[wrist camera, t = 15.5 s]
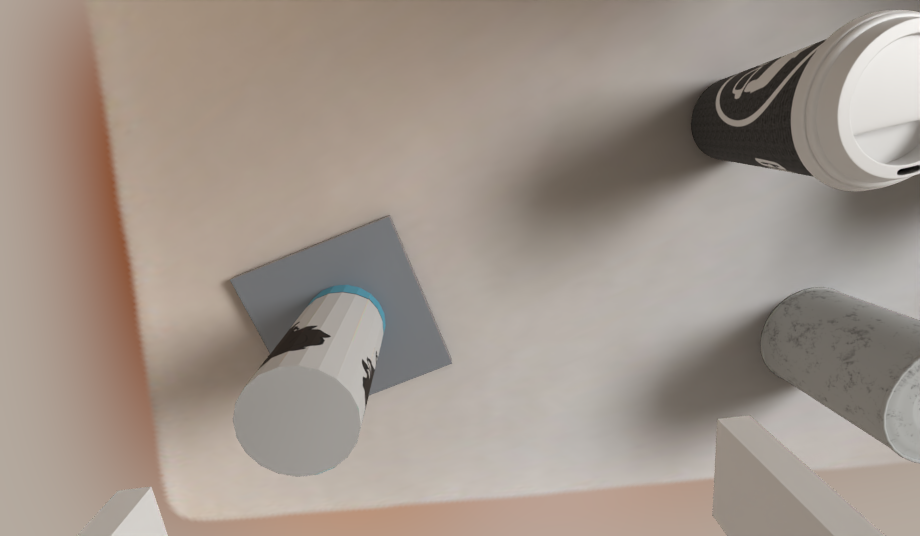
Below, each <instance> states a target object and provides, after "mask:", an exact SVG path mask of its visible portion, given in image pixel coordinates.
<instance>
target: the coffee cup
mask: <svg viewBox="0 0 920 536" xmlns="http://www.w3.org/2000/svg"><path fill="white" fill-rule="evenodd" d="M691 126H692V134H693V137H694V140H695V142H696V144H697V145H698V147H699V148H700V149H701V150H702V151H703V152H704V153H705V154H707V155H708V156H710V157H713V158H716V159H720V160H726V161H731V162H737V163H743V164H748V165H754V166H759V167H765V168H770V169H776V170H781V171H787V172H792V173H798V174H803V175H808V176H814V177H815V178H816V179H818V180H819V181H821V182H822V183H824V184H826V185H828V186H830V187H833V188H836V189H839V190H844V191H867V190H873V189H878V188H883V187H887V186H890V185H893V184H896V183H898V182H901V181H903V180H906V179H908V178H910V177H912V176H914V175H917V174H920V12H916V11H910V10H884V11H878V12H873V13H870V14H866V15H864V16H861V17H859V18H856V19H854V20H852V21H851V22H849V23H847V24H845V25H844V26H842V27H841V28H840V29H838V30H837V31H836V32H834V33H833V34H832V35H831V36H830V37H829V38H828V39H826V40H823V41H821V42H818V43H816V44H813V45H811V46H808V47H805V48H803V49H800V50H798V51H795V52H793V53H790V54H787V55H785V56H782V57H780V58H777V59H774V60H772V61H769V62H767V63H764V64H761V65H759V66H756V67H754V68H751V69H748V70H746V71H743V72H741V73H738V74H735V75H733V76H730V77H728V78H725V79H722V80H720V81H718V82H716V83H714V84H713V85H711V86H710V87H709V88H708V89H707V90H706V91H705V92H704V93H703V94H702V95H701V97H700V98H699V100H698V101H697V103H696V105H695V108H694V111H693V115H692V122H691Z"/></svg>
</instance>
